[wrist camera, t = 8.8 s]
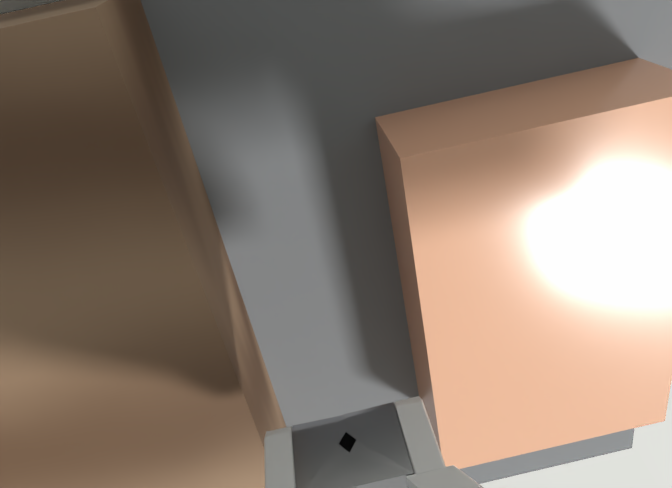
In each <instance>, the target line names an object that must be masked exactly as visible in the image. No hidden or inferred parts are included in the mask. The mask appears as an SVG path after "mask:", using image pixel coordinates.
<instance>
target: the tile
mask: <svg viewBox="0 0 672 488" xmlns="http://www.w3.org/2000/svg"><path fill="white" fill-rule="evenodd" d="M375 120H376V127H377V133H378V139H379V146H380V152H381V158H382V165H383V171H384V177H385V184H386V190H387V196H388V203H389V209H390V215H391V222H392V228H393V234H394V241H395V247H396V253H397V260H398V266H399V272H400V279H401V285H402V291H403V298H404V304H405V310H406V317H407V323H408V329H409V336H410V342H411V348H412V355H413V361H414V367H415V374H416V380H417V386H418V393H419V397H420V398H421V399H422V400H423V403H424V406H425V409H426V412H427V415H428V417H429V420H430V423H431V426H432V429H433V432H434V434H435V437H436V440H437V443H438V446H439V449H440V452H441V454H442V457H443V460H444V463H445V466H446V467H447V466H452V465H454V466H456V467H457V468H458V469H462V468H466V467H470V466H475V465H479V464H483V463H487V462H492V461H496V460H500V459H504V458H509V457H513V456H517V455H521V454H526V453H530V452H534V451H539V450H543V449H547V448H551V447H556V446H560V445H564V444H568V443H573V442H577V441H581V440H585V439H590V438H594V437H598V436H603V435H607V434H611V433H615V432H620V431H624V430H628V429H632V428H637V427H641V426H645V425H649V424H654V423H658V422H662V421H665V416H666V410H667V404H668V398H669V391H670V385H671V379H672V69H669V68H666V67H663V66H660V65H658V64H655V63H652V62H649V61H646V60H644V59H641V58H635V59H631V60H626V61H622V62H618V63H613V64H609V65H604V66H600V67H595V68H591V69H587V70H582V71H578V72H573V73H569V74H564V75H560V76H556V77H551V78H547V79H542V80H538V81H533V82H529V83H525V84H520V85H516V86H511V87H507V88H502V89H498V90H494V91H489V92H485V93H480V94H476V95H471V96H467V97H463V98H458V99H454V100H449V101H445V102H440V103H436V104H432V105H427V106H423V107H418V108H414V109H409V110H405V111H401V112H396V113H392V114H387V115H383V116H378V117H375Z"/></svg>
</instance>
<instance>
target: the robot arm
mask: <svg viewBox="0 0 672 488" xmlns="http://www.w3.org/2000/svg"><path fill="white" fill-rule="evenodd" d="M264 455H265V488H483V487H482V486H481V485H479V484H478V483H477V482H475V481H474V480H473V479H472V478H470V477H469V476H468V475H466V474H465V473H464V472H462V471H461V470H460V469H458V468H457V467H456V466H454V465H452V466H447V467H446V466H445V463H444V460H443V457H442V454H441V452H440V449H439V446H438V443H437V440H436V437H435V434H434V432H433V429H432V426H431V423H430V420H429V417H428V415H427V412H426V409H425V406H424V403H423V400H422V399H421V398H420V397H419V396H417V397H413V398H409V399H405V400H400V401H396V402H394V403H393V402H391V403H387V404H383V405H379V406H375V407H371V408H367V409H363V410H359V411H355V412H351V413H347V414H343V415H341V416H336V417H331V418H326V419H322V420H317V421H312V422H307V423H302V424H298V425H293V426H290V427H285V428H280V429H276V430H271V431H266V434H265V438H264Z"/></svg>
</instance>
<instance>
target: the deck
mask: <svg viewBox="0 0 672 488" xmlns="http://www.w3.org/2000/svg"><path fill="white" fill-rule="evenodd" d="M285 427H286V424H285V421H284V419H283V416H282V413H281V410H280V407H279V404H278V401H277V398H276V395H275V392H274V389H273V386H272V383H271V380H270V378H269V375H268V372H267V369H266V366H265V363H264V360H263V357H262V354H261V351H260V348H259V345H258V342H257V340H256V337H255V334H254V331H253V328H252V325H251V322H250V319H249V316H248V313H247V310H246V307H245V304H244V301H243V299H242V296H241V293H240V290H239V287H238V284H237V281H236V278H235V275H234V272H233V269H232V266H231V263H230V260H229V258H228V255H227V252H226V249H225V246H224V243H223V240H222V237H221V234H220V231H219V228H218V225H217V222H216V220H215V217H214V214H213V211H212V208H211V205H210V202H209V199H208V196H207V193H206V190H205V187H204V184H203V181H202V179H201V176H200V173H199V170H198V167H197V164H196V161H195V158H194V155H193V152H192V149H191V146H190V143H189V141H188V138H187V135H186V132H185V129H184V126H183V123H182V120H181V117H180V114H179V111H178V108H177V105H176V102H175V100H174V97H173V94H172V91H171V88H170V85H169V82H168V79H167V76H166V73H165V70H164V67H163V64H162V62H161V59H160V56H159V53H158V50H157V47H156V44H155V41H154V38H153V35H152V32H151V29H150V26H149V23H148V21H147V18H146V15H145V12H144V9H143V6H142V3H141V0H63V1H58V2H54V3H49V4H45V5H40V6H36V7H31V8H27V9H22V10H18V11H13V12H9V13H4V14H0V488H265V455H264V438H265V434H266V431H271V430H276V429H280V428H285Z"/></svg>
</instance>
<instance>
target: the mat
mask: <svg viewBox="0 0 672 488" xmlns="http://www.w3.org/2000/svg"><path fill="white" fill-rule="evenodd" d="M141 3H142V6H143V9H144V12H145V15H146V18H147V21H148V23H149V26H150V29H151V32H152V35H153V38H154V41H155V44H156V47H157V50H158V53H159V56H160V59H161V62H162V64H163V67H164V70H165V73H166V76H167V79H168V82H169V85H170V88H171V91H172V94H173V97H174V100H175V102H176V105H177V108H178V111H179V114H180V117H181V120H182V123H183V126H184V129H185V132H186V135H187V138H188V141H189V143H190V146H191V149H192V152H193V155H194V158H195V161H196V164H197V167H198V170H199V173H200V176H201V179H202V181H203V184H204V187H205V190H206V193H207V196H208V199H209V202H210V205H211V208H212V211H213V214H214V217H215V220H216V222H217V225H218V228H219V231H220V234H221V237H222V240H223V243H224V246H225V249H226V252H227V255H228V258H229V260H230V263H231V266H232V269H233V272H234V275H235V278H236V281H237V284H238V287H239V290H240V293H241V296H242V299H243V301H244V304H245V307H246V310H247V313H248V316H249V319H250V322H251V325H252V328H253V331H254V334H255V337H256V340H257V342H258V345H259V348H260V351H261V354H262V357H263V360H264V363H265V366H266V369H267V372H268V375H269V378H270V380H271V383H272V386H273V389H274V392H275V395H276V398H277V401H278V404H279V407H280V410H281V413H282V416H283V419H284V421H285V424H286V427H290V426H293V425H298V424H302V423H307V422H312V421H317V420H322V419H326V418H331V417H336V416H341V415H343V414H347V413H351V412H355V411H359V410H363V409H367V408H371V407H375V406H379V405H383V404H387V403H391V402H393V403H394V402H396V401H400V400H405V399H409V398H413V397H417V396H419V393H418V386H417V380H416V374H415V367H414V361H413V355H412V348H411V342H410V336H409V329H408V323H407V317H406V310H405V304H404V298H403V291H402V285H401V279H400V272H399V266H398V260H397V253H396V247H395V241H394V234H393V228H392V222H391V215H390V209H389V203H388V196H387V190H386V184H385V177H384V171H383V165H382V158H381V152H380V146H379V139H378V133H377V127H376V120H375V117H378V116H383V115H387V114H392V113H396V112H401V111H405V110H409V109H414V108H418V107H423V106H427V105H432V104H436V103H440V102H445V101H449V100H454V99H458V98H463V97H467V96H471V95H476V94H480V93H485V92H489V91H494V90H498V89H502V88H507V87H511V86H516V85H520V84H525V83H529V82H533V81H538V80H542V79H547V78H551V77H556V76H560V75H564V74H569V73H573V72H578V71H582V70H587V69H591V68H595V67H600V66H604V65H609V64H613V63H618V62H622V61H626V60H631V59H635V58H641V59H644V60H646V61H649V62H652V63H655V64H658V65H660V66H663V67H666V68H669V69H672V0H141ZM633 434H634V428H632V429H628V430H624V431H620V432H615V433H611V434H607V435H603V436H598V437H594V438H590V439H585V440H581V441H577V442H573V443H568V444H564V445H560V446H556V447H551V448H547V449H543V450H539V451H534V452H530V453H526V454H521V455H517V456H513V457H509V458H504V459H500V460H496V461H492V462H487V463H483V464H479V465H475V466H470V467H466V468H462V469H460V470H461V471H462V472H464V473H465V474H466V475H468V476H469V477H470V478H472V479H473V480H474V481H475V482H477V483H478V484H481V483H485V482H489V481H493V480H498V479H502V478H506V477H510V476H515V475H519V474H523V473H527V472H532V471H536V470H540V469H544V468H549V467H553V466H557V465H561V464H566V463H570V462H574V461H578V460H583V459H587V458H591V457H595V456H600V455H604V454H608V453H612V452H617V451H621V450H625V449H629V448H632V443H633Z"/></svg>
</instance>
